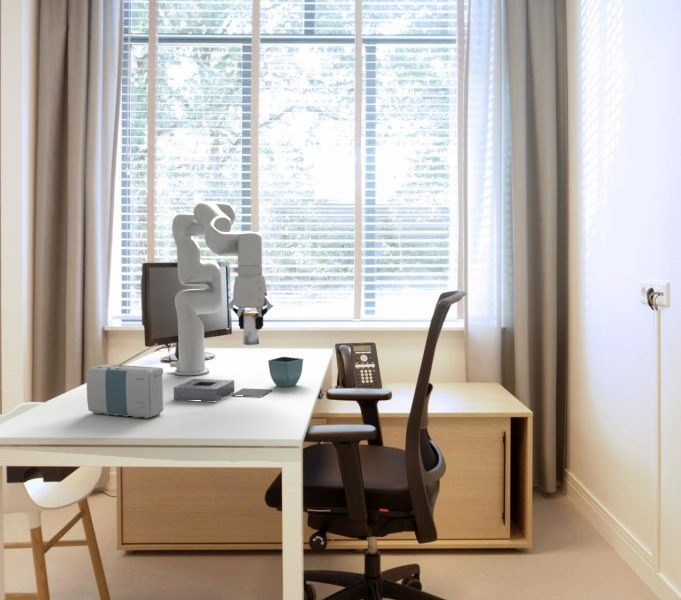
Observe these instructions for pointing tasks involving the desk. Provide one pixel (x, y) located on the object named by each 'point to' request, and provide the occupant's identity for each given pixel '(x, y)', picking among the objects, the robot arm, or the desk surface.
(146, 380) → the grey teal equipment box
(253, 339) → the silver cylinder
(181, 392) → the housing
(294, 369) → the flower pot
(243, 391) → the mat
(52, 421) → the desk surface
